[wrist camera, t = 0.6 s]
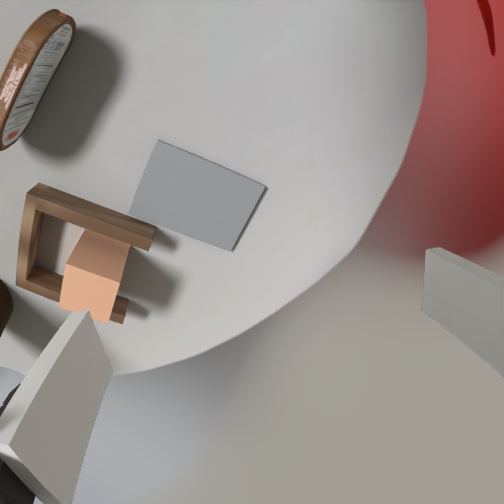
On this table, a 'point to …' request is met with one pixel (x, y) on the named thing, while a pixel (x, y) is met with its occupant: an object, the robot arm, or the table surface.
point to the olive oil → (4, 306)
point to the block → (93, 275)
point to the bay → (80, 215)
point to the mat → (195, 196)
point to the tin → (32, 71)
